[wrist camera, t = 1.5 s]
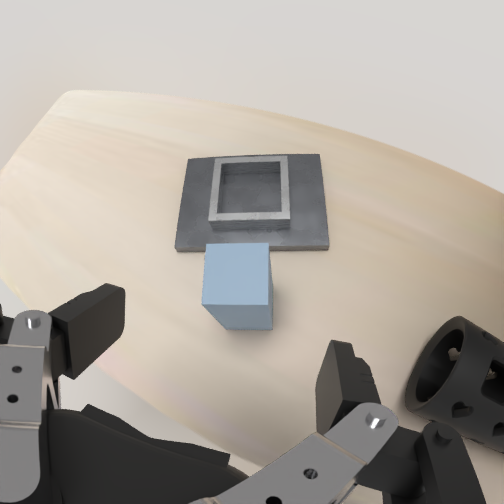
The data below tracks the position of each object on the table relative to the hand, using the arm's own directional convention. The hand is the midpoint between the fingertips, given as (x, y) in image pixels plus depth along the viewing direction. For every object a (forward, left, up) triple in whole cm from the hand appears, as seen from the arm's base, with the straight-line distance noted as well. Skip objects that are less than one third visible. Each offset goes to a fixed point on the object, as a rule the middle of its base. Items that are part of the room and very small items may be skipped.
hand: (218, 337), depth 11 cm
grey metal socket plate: (+1, -18, -19) cm, 26 cm away
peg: (+1, -6, -19) cm, 20 cm away
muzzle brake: (-27, +8, -19) cm, 34 cm away
